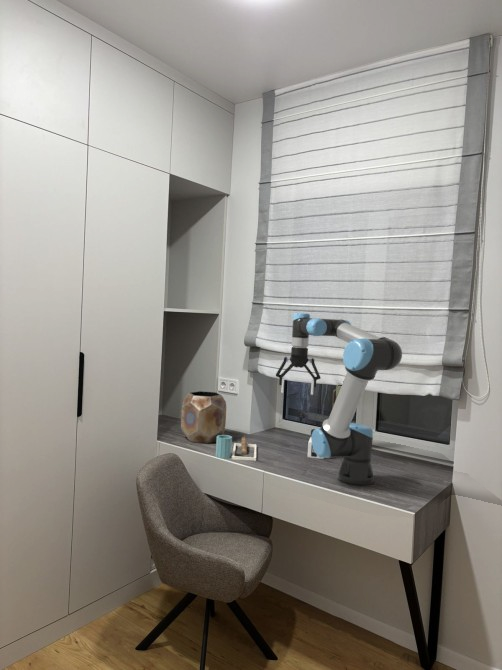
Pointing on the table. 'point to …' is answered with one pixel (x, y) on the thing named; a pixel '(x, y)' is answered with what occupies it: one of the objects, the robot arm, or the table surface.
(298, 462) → the table surface
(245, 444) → the brown wooden bar
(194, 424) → the planter
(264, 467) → the table surface
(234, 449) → the white rectangular frame
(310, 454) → the container
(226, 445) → the cup
